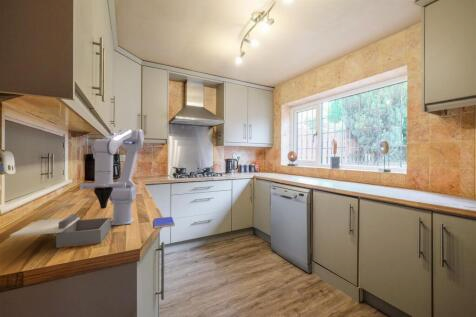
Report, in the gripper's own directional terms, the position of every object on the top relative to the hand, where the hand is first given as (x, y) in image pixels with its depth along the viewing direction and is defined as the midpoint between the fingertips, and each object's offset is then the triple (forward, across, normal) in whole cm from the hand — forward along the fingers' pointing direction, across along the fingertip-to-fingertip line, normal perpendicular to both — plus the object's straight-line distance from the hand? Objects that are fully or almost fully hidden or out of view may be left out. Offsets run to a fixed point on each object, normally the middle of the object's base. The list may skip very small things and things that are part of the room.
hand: (103, 208), depth 79 cm
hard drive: (+11, +21, +9) cm, 25 cm away
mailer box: (+10, -5, -1) cm, 11 cm away
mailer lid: (+5, -16, -1) cm, 16 cm away
